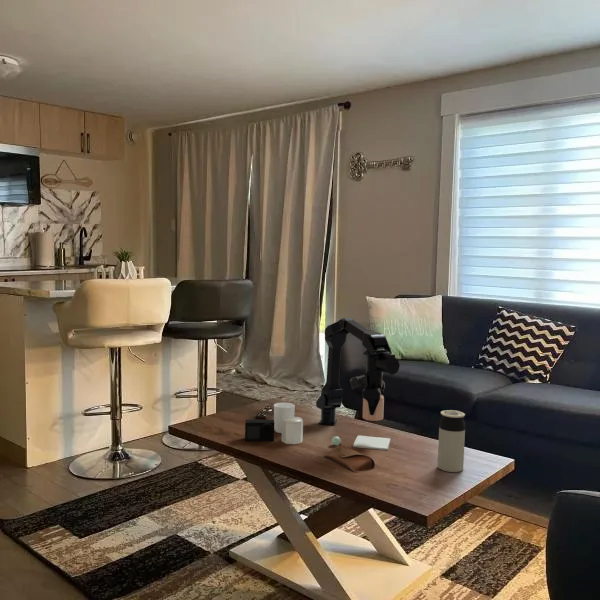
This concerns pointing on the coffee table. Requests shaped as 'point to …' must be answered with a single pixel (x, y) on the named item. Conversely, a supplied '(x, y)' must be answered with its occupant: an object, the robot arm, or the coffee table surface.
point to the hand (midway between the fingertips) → (372, 412)
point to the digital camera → (259, 430)
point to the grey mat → (372, 442)
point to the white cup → (282, 414)
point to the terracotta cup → (378, 412)
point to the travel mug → (451, 441)
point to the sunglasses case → (350, 458)
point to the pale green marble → (336, 440)
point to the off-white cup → (292, 430)
